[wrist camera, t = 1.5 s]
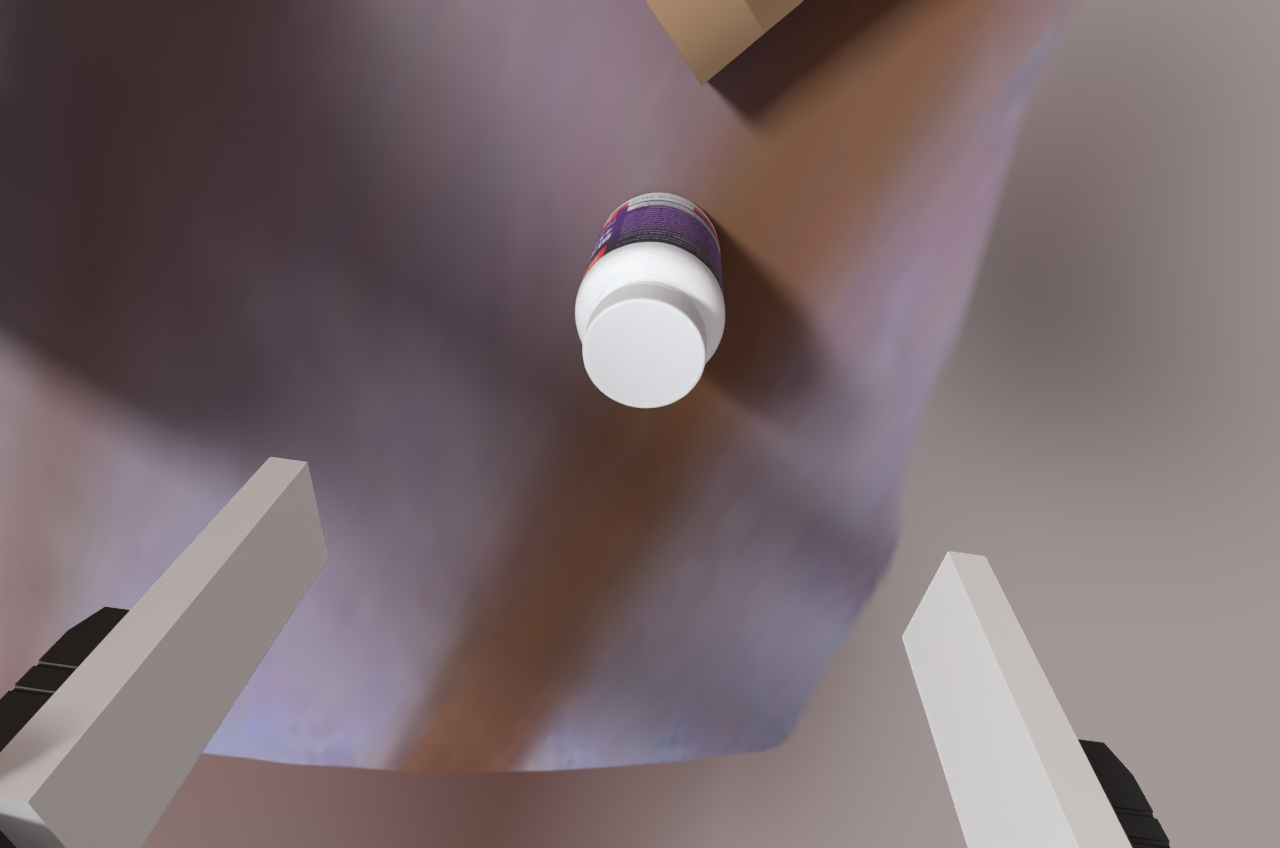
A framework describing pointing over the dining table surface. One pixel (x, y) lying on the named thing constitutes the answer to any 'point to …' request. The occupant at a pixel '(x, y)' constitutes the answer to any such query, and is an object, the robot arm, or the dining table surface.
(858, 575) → the dining table surface
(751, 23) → the brown square frame
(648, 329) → the pill bottle
